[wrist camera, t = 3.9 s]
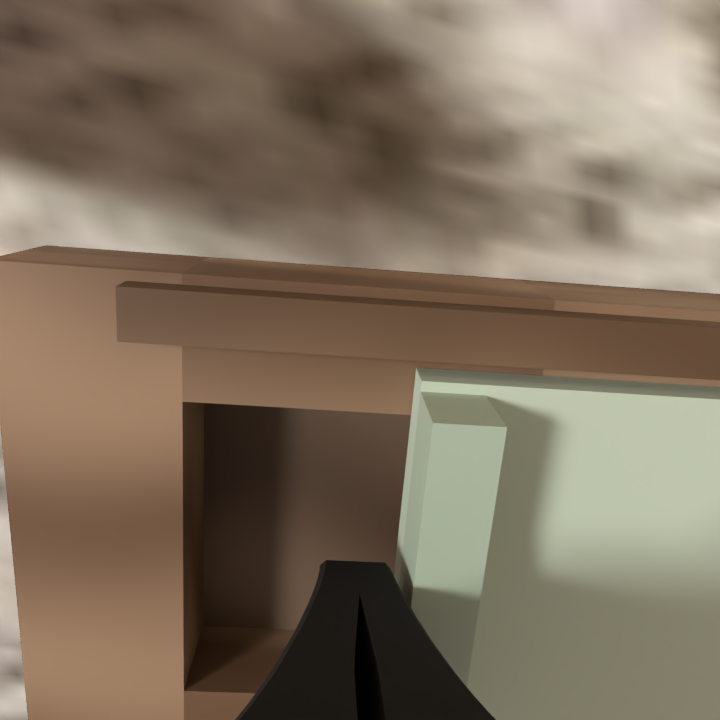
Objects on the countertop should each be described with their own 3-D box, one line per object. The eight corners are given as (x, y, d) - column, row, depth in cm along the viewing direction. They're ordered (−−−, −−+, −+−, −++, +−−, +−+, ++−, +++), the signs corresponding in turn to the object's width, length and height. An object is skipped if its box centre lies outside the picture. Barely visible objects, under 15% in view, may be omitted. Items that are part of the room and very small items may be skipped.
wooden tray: (843, 714, 18) (939, 816, 15) (74, 690, 17) (20, 796, 14) (994, 314, 15) (1154, 347, 12) (45, 245, 13) (-35, 263, 11)
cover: (705, 742, 15) (769, 840, 13) (376, 733, 14) (384, 833, 12) (810, 392, 12) (913, 439, 10) (416, 368, 12) (434, 411, 10)
